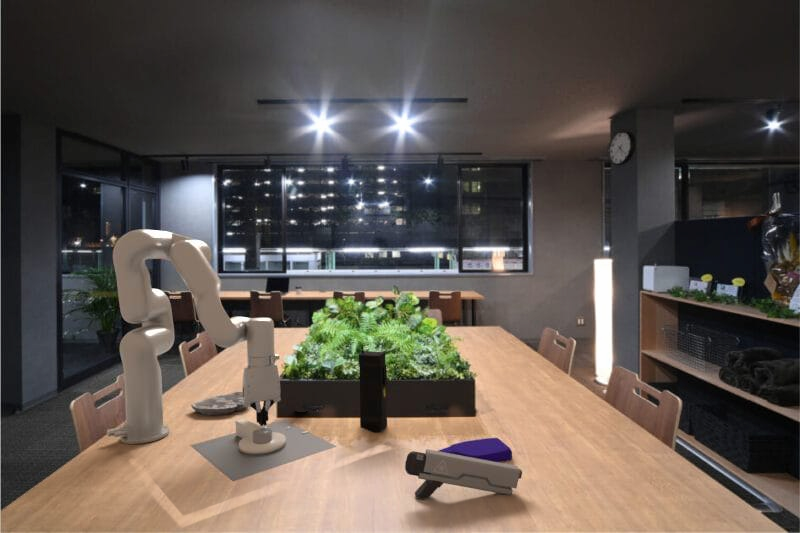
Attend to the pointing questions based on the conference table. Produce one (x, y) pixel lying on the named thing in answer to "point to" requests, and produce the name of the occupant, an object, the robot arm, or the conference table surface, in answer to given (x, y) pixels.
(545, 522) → the conference table surface
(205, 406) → the brain slice
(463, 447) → the purple faceted wedge
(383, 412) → the black tall block
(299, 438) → the dial plate
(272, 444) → the dial rotor
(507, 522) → the conference table surface
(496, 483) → the gun
